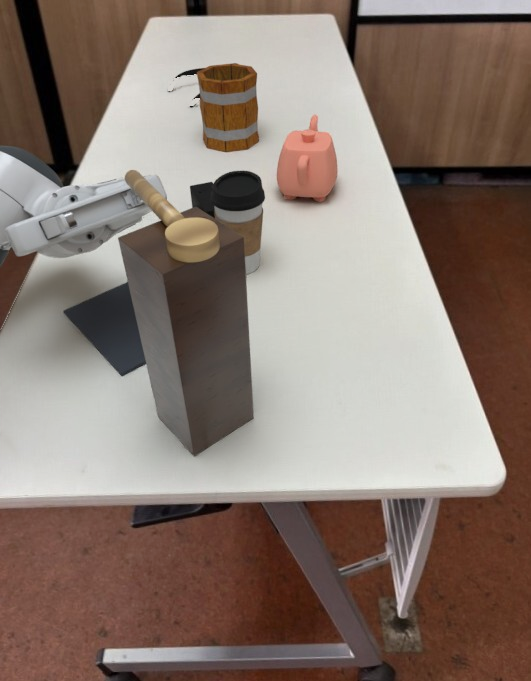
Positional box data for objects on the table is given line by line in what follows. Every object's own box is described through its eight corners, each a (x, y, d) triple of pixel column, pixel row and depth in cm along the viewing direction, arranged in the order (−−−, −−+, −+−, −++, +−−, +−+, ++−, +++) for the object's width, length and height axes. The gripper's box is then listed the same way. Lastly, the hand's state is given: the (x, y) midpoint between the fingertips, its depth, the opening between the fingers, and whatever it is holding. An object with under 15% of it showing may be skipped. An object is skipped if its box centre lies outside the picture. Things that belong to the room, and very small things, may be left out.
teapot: (331, 215, 108) (335, 153, 100) (269, 211, 109) (268, 150, 101) (340, 168, 122) (344, 111, 114) (285, 165, 124) (285, 109, 116)
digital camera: (187, 220, 107) (182, 186, 103) (215, 214, 109) (211, 180, 104) (202, 248, 100) (198, 213, 95) (232, 242, 101) (229, 206, 97)
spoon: (110, 188, 62) (107, 173, 60) (152, 177, 63) (149, 162, 62) (181, 268, 50) (178, 251, 49) (229, 252, 52) (227, 234, 51)
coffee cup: (275, 257, 98) (273, 174, 88) (253, 284, 92) (249, 199, 82) (231, 246, 100) (225, 165, 90) (207, 272, 95) (198, 189, 85)
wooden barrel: (255, 153, 129) (252, 83, 119) (196, 151, 131) (189, 82, 121) (266, 120, 144) (265, 55, 134) (213, 118, 145) (208, 55, 135)
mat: (63, 313, 87) (63, 310, 87) (132, 282, 93) (131, 279, 93) (121, 376, 77) (121, 373, 77) (195, 337, 83) (195, 334, 82)
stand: (157, 417, 71) (117, 237, 54) (216, 382, 76) (195, 206, 58) (194, 456, 67) (162, 274, 49) (254, 418, 71) (244, 237, 54)
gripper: (-14, 224, 71) (4, 210, 59) (131, 175, 80) (171, 154, 69) (10, 272, 73) (32, 266, 61) (149, 218, 82) (191, 204, 71)
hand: (107, 206), depth 65 cm, fingers open, 8 cm apart
